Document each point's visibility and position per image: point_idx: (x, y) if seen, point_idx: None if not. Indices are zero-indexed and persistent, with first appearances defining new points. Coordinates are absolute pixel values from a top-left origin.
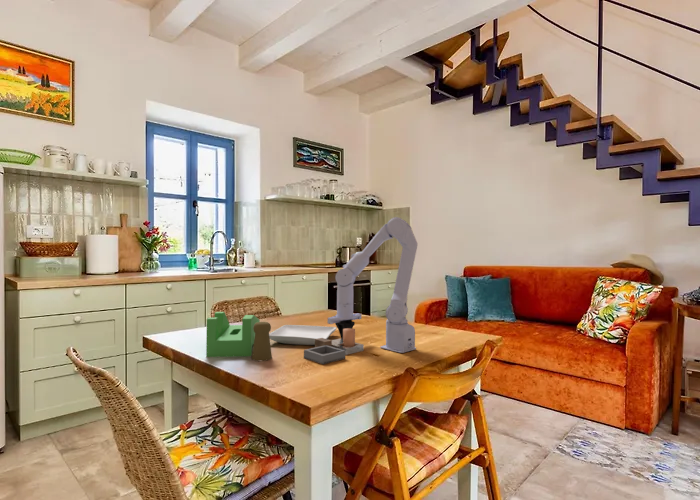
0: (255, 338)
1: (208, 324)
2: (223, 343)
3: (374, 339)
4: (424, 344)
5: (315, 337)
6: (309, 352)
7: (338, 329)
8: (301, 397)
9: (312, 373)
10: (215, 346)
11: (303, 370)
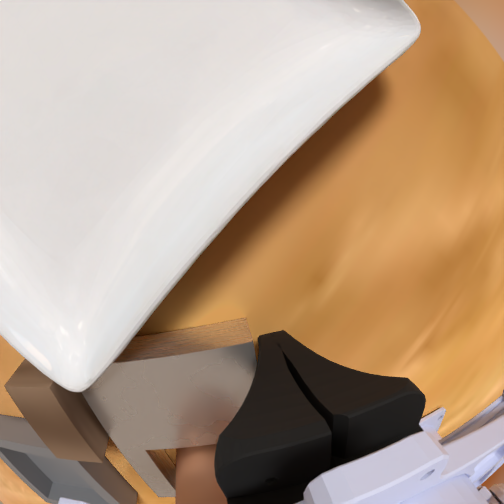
0: None
1: None
2: None
3: (471, 296)
4: (478, 412)
5: (133, 78)
6: (2, 457)
7: (247, 399)
8: None
9: (28, 492)
10: None
11: (7, 472)
